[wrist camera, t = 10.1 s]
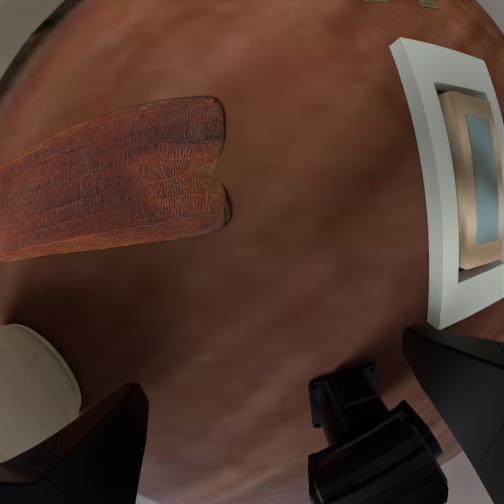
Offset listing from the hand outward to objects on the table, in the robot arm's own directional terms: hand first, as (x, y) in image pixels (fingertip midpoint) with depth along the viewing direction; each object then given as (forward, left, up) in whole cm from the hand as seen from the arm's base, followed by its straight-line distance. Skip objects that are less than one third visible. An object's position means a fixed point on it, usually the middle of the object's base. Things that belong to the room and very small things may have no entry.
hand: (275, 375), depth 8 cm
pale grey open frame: (+4, -21, -12) cm, 25 cm away
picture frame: (+4, -21, -12) cm, 25 cm away
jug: (-7, +25, -12) cm, 29 cm away
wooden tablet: (+9, +13, -13) cm, 21 cm away
